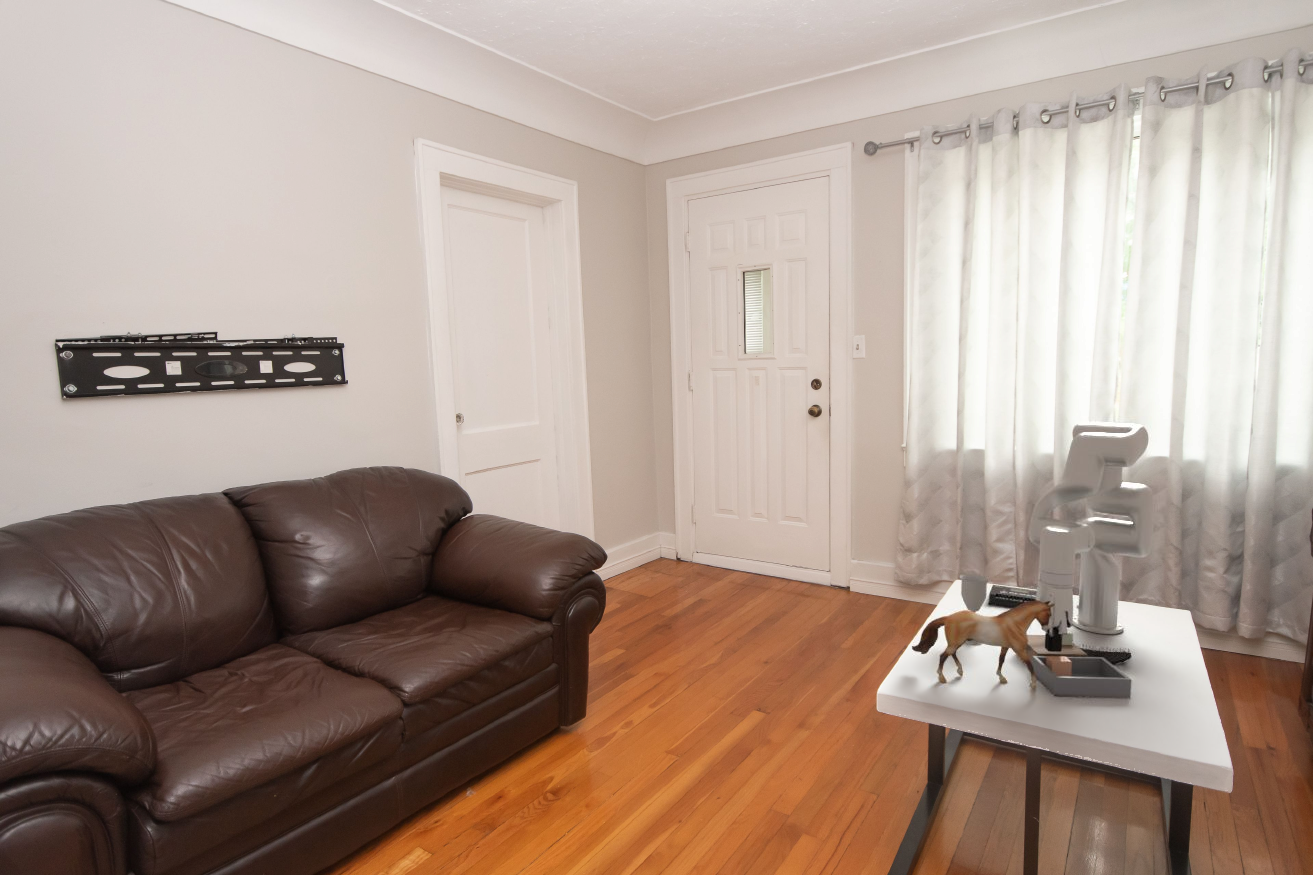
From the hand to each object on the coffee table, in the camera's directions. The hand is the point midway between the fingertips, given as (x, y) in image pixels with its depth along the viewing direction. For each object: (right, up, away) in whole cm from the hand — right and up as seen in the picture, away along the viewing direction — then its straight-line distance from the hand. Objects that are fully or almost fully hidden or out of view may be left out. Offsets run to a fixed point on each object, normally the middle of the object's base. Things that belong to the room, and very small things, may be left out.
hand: (1053, 650), depth 172 cm
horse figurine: (-19, -7, -1) cm, 20 cm away
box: (+3, -7, -6) cm, 9 cm away
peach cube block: (0, -3, -1) cm, 4 cm away
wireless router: (+19, -1, +49) cm, 52 cm away
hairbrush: (+13, -5, +12) cm, 18 cm away
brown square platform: (+3, -5, +6) cm, 9 cm away
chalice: (-11, -4, +21) cm, 24 cm away
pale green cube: (+6, 0, +8) cm, 9 cm away
